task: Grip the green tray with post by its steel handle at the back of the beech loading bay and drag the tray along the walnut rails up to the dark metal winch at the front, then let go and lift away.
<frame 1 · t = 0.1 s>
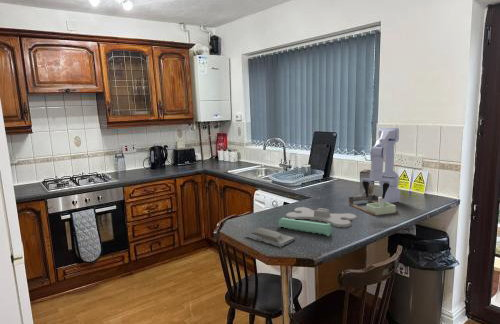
hand: (375, 197, 167), 10 cm above the worktop, tool pointing down, fingers open, 7 cm apart
holder: (320, 219, 172), on the worktop
soap mold: (269, 240, 147), on the worktop
bay: (371, 209, 183), on the worktop
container: (303, 231, 155), on the worktop
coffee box: (366, 196, 211), on the worktop
green tray with post: (380, 204, 175), point 5 cm above the worktop, slide at 12.0 cm
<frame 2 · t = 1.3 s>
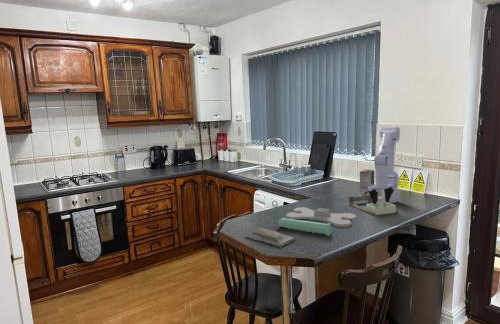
hand: (380, 202, 175), 6 cm above the worktop, tool pointing down, fingers open, 7 cm apart
nothing on the worktop moved.
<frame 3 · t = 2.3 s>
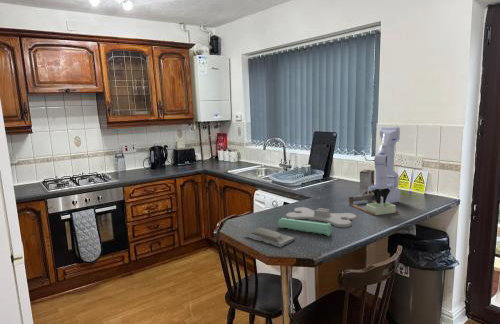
hand: (380, 202, 175), 6 cm above the worktop, tool pointing down, fingers closed on green tray with post, 2 cm apart
green tray with post: (380, 204, 175), point 5 cm above the worktop, slide at 12.0 cm, touching gripper
everything else where it was.
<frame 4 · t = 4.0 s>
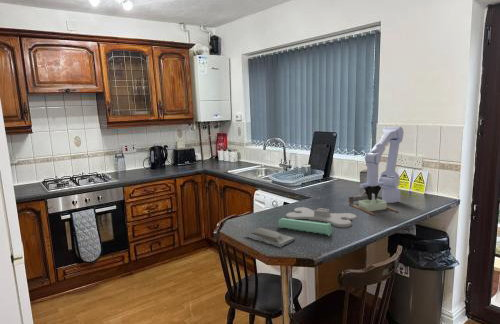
hand: (372, 199, 182), 6 cm above the worktop, tool pointing down, fingers closed on green tray with post, 2 cm apart
green tray with post: (372, 201, 181), point 5 cm above the worktop, slide at 5.0 cm, touching gripper
everything else where it was.
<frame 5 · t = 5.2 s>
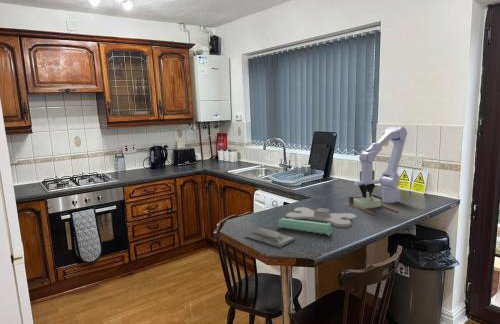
hand: (366, 197, 186), 6 cm above the worktop, tool pointing down, fingers closed on green tray with post, 2 cm apart
green tray with post: (367, 199, 186), point 5 cm above the worktop, slide at 0.1 cm, touching gripper
everything else where it was.
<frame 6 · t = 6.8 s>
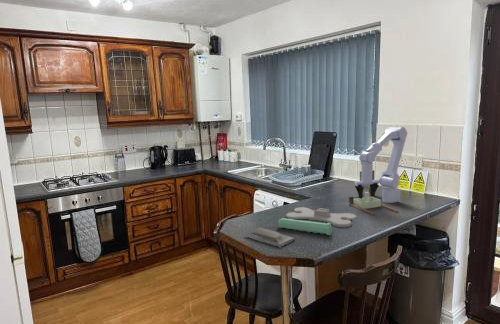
hand: (366, 197, 186), 6 cm above the worktop, tool pointing down, fingers open, 7 cm apart
green tray with post: (367, 199, 186), point 5 cm above the worktop, slide at 0.1 cm
everything else where it was.
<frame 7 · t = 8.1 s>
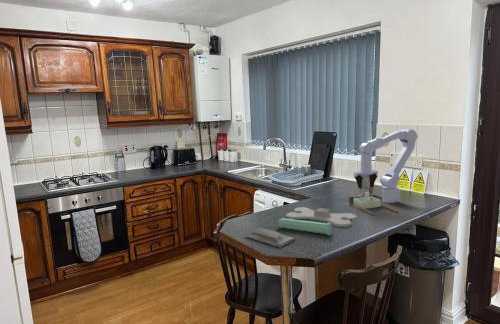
hand: (365, 187, 191), 10 cm above the worktop, tool pointing down, fingers open, 7 cm apart
nothing on the worktop moved.
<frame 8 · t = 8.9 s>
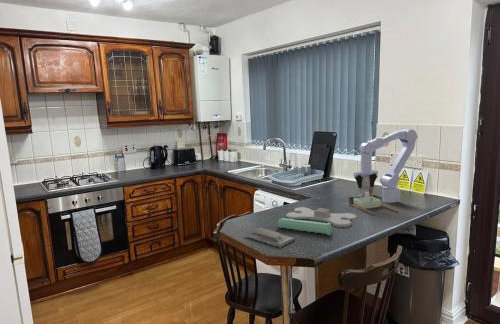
hand: (365, 187, 191), 10 cm above the worktop, tool pointing down, fingers open, 7 cm apart
nothing on the worktop moved.
at the end: green tray with post slide at 0.1 cm; the gripper is holding nothing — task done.
